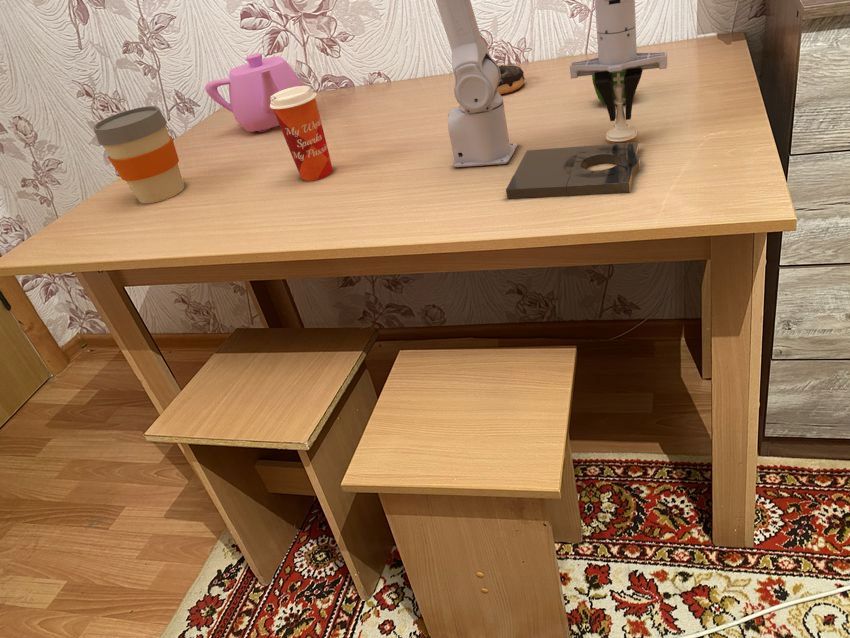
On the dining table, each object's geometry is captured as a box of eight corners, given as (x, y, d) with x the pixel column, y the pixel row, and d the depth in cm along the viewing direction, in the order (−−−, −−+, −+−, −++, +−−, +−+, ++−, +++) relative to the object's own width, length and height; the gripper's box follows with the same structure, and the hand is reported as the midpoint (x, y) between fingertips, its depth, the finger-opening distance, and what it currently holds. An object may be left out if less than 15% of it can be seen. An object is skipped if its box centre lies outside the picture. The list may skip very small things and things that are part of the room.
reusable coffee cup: (155, 210, 129) (117, 131, 120) (116, 204, 136) (78, 129, 127) (206, 181, 137) (174, 105, 128) (167, 177, 144) (134, 105, 135)
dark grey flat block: (507, 198, 104) (505, 189, 103) (527, 158, 115) (526, 150, 115) (634, 192, 98) (634, 182, 97) (643, 150, 109) (643, 141, 108)
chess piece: (636, 140, 111) (634, 75, 105) (605, 143, 112) (601, 80, 106) (637, 128, 115) (634, 66, 109) (606, 132, 116) (602, 70, 110)
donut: (526, 91, 145) (524, 72, 143) (471, 102, 146) (467, 83, 144) (524, 77, 154) (521, 58, 152) (471, 87, 155) (468, 69, 153)
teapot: (220, 129, 166) (194, 64, 158) (304, 103, 171) (284, 39, 162) (231, 154, 148) (203, 82, 140) (325, 125, 153) (303, 53, 144)
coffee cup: (302, 187, 124) (273, 104, 116) (290, 175, 131) (262, 95, 122) (345, 172, 127) (320, 88, 118) (331, 161, 133) (307, 81, 124)
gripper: (563, 41, 103) (571, 131, 111) (664, 29, 98) (666, 123, 106) (571, 29, 108) (578, 115, 116) (667, 17, 104) (668, 107, 112)
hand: (620, 118), depth 112 cm, fingers closed on chess piece
